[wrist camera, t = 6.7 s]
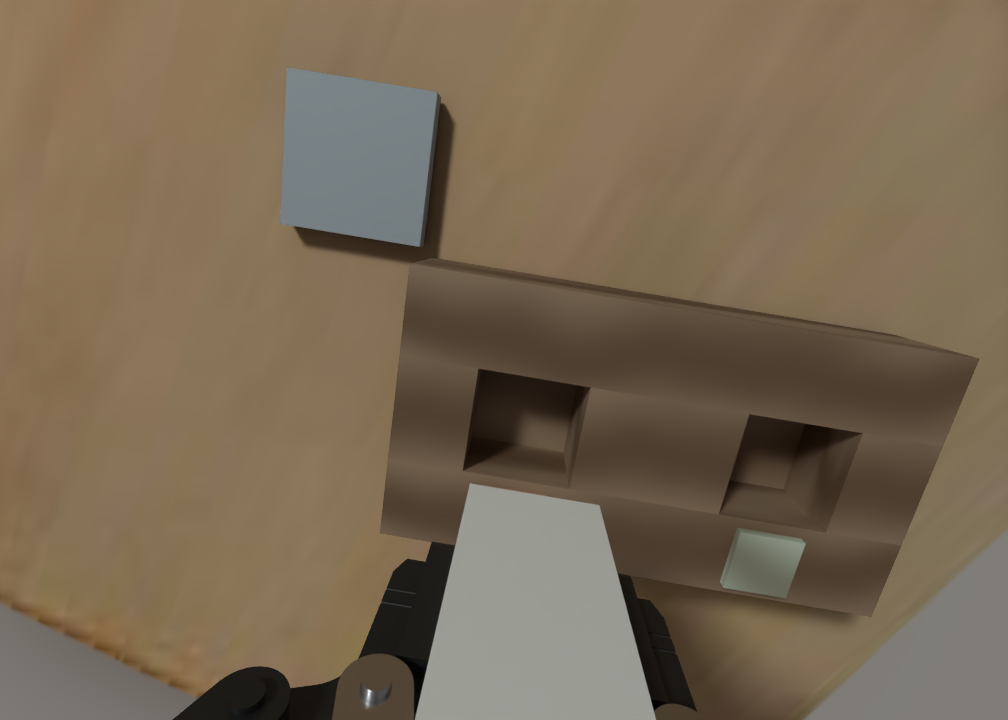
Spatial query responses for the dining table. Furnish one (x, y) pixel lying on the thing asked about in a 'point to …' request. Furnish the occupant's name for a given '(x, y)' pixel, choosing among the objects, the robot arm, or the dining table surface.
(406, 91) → the thin square blue plate
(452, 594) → the plug
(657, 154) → the dining table surface
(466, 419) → the socket block
